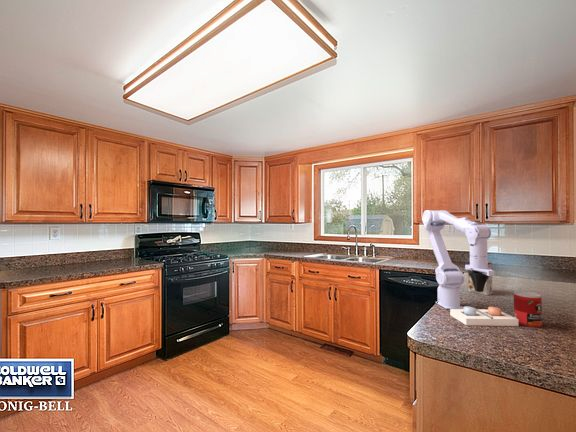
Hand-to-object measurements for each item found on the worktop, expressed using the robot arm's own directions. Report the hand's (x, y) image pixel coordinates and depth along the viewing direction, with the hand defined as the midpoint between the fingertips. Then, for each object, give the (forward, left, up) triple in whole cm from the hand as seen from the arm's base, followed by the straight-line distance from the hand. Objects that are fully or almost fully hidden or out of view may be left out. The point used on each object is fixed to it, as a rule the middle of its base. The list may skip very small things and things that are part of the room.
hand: (479, 291), depth 108 cm
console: (+2, 0, -10) cm, 10 cm away
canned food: (+5, +14, -11) cm, 18 cm away
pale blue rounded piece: (+2, -5, -9) cm, 11 cm away
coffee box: (-40, +25, -11) cm, 48 cm away
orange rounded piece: (+2, +4, -9) cm, 10 cm away
